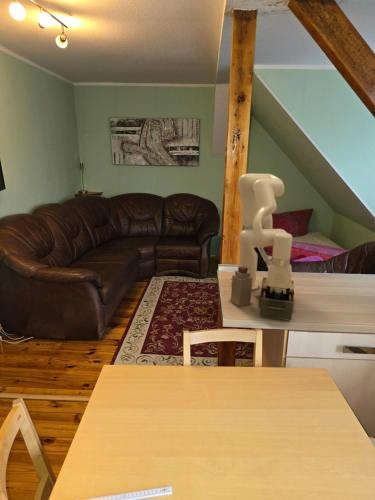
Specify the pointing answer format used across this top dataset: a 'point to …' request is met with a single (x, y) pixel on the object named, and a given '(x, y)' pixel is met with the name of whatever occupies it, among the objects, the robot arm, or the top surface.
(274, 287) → the cabinet
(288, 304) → the drawer
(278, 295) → the salt shaker
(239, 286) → the perfume bottle
